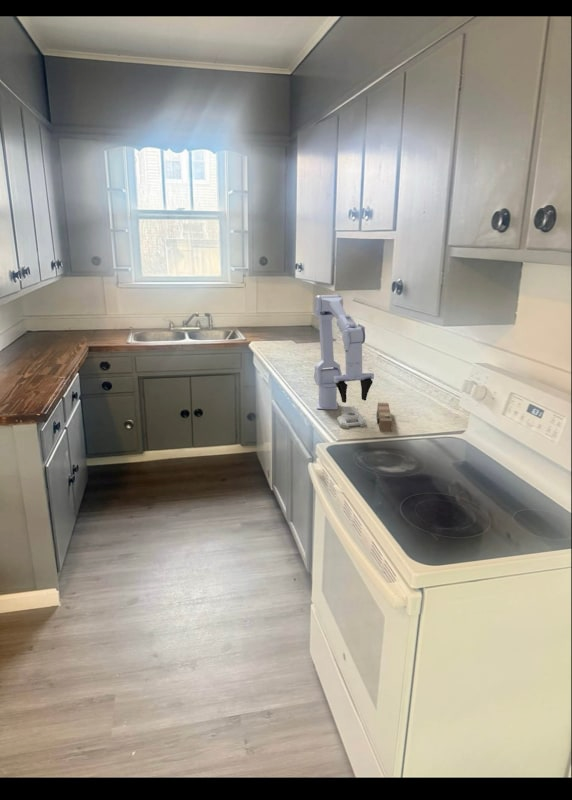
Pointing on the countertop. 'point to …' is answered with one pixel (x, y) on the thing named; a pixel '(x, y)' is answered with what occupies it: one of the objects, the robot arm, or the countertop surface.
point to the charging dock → (384, 417)
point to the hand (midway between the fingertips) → (354, 401)
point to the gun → (350, 418)
